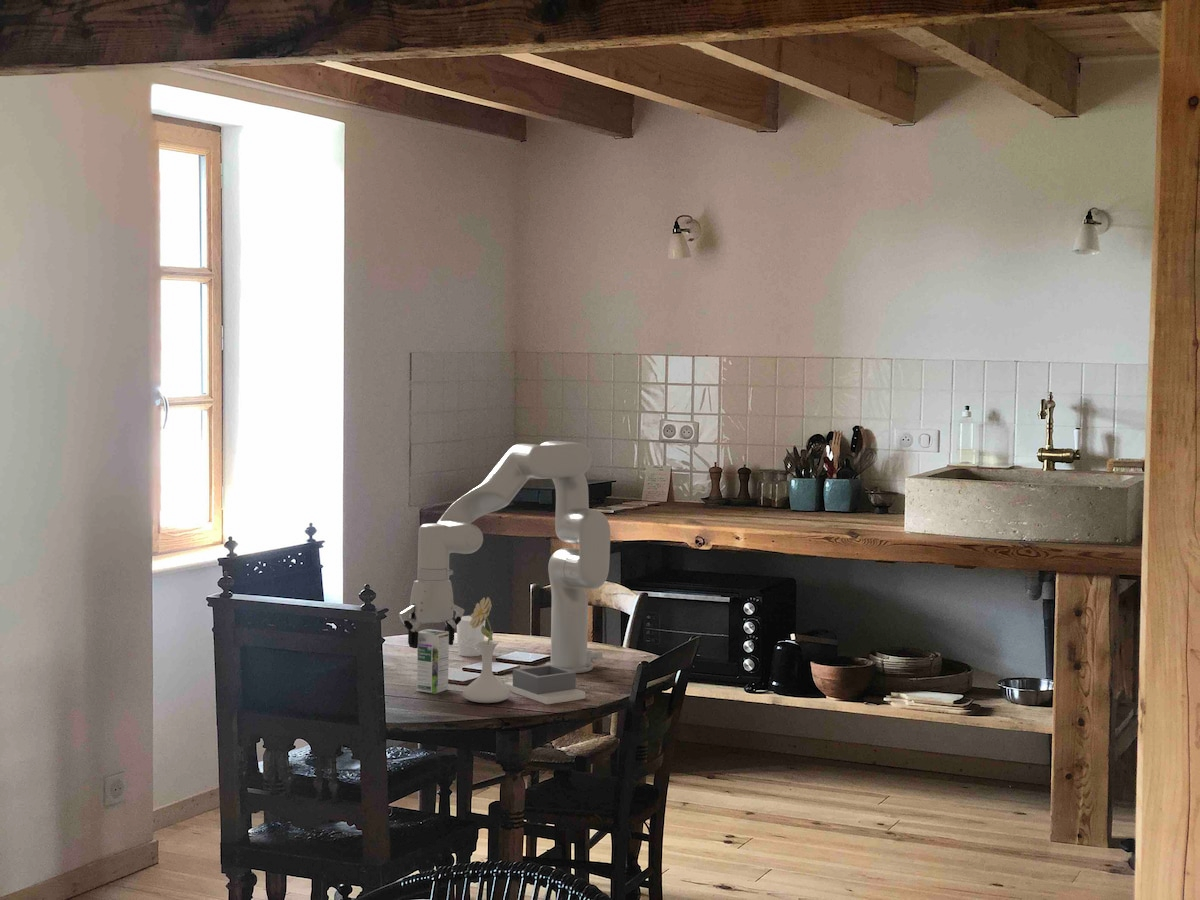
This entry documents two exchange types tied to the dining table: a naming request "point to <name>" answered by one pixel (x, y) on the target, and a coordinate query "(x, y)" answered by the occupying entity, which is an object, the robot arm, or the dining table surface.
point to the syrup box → (432, 661)
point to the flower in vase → (485, 663)
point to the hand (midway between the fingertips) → (431, 645)
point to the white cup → (469, 637)
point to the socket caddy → (545, 684)
